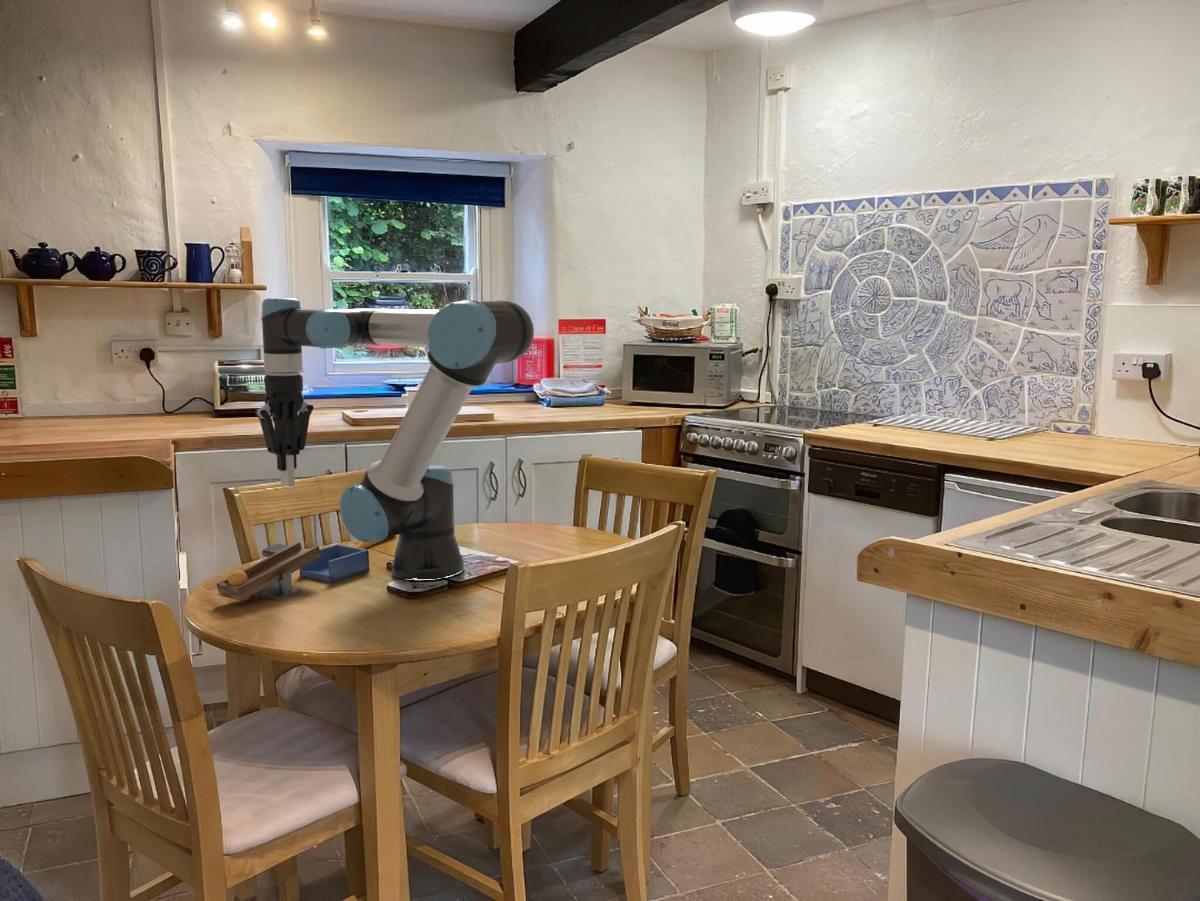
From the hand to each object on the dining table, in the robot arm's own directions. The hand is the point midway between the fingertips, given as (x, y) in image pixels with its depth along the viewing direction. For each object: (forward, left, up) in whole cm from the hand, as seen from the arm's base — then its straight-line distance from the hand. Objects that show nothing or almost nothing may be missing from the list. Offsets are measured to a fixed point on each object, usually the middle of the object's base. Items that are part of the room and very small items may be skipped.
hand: (287, 484), depth 200 cm
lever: (-5, +12, -15) cm, 20 cm away
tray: (-8, -4, -19) cm, 21 cm away
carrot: (+3, -25, -19) cm, 32 cm away
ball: (-8, +20, -14) cm, 26 cm away
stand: (-8, +12, -19) cm, 24 cm away
